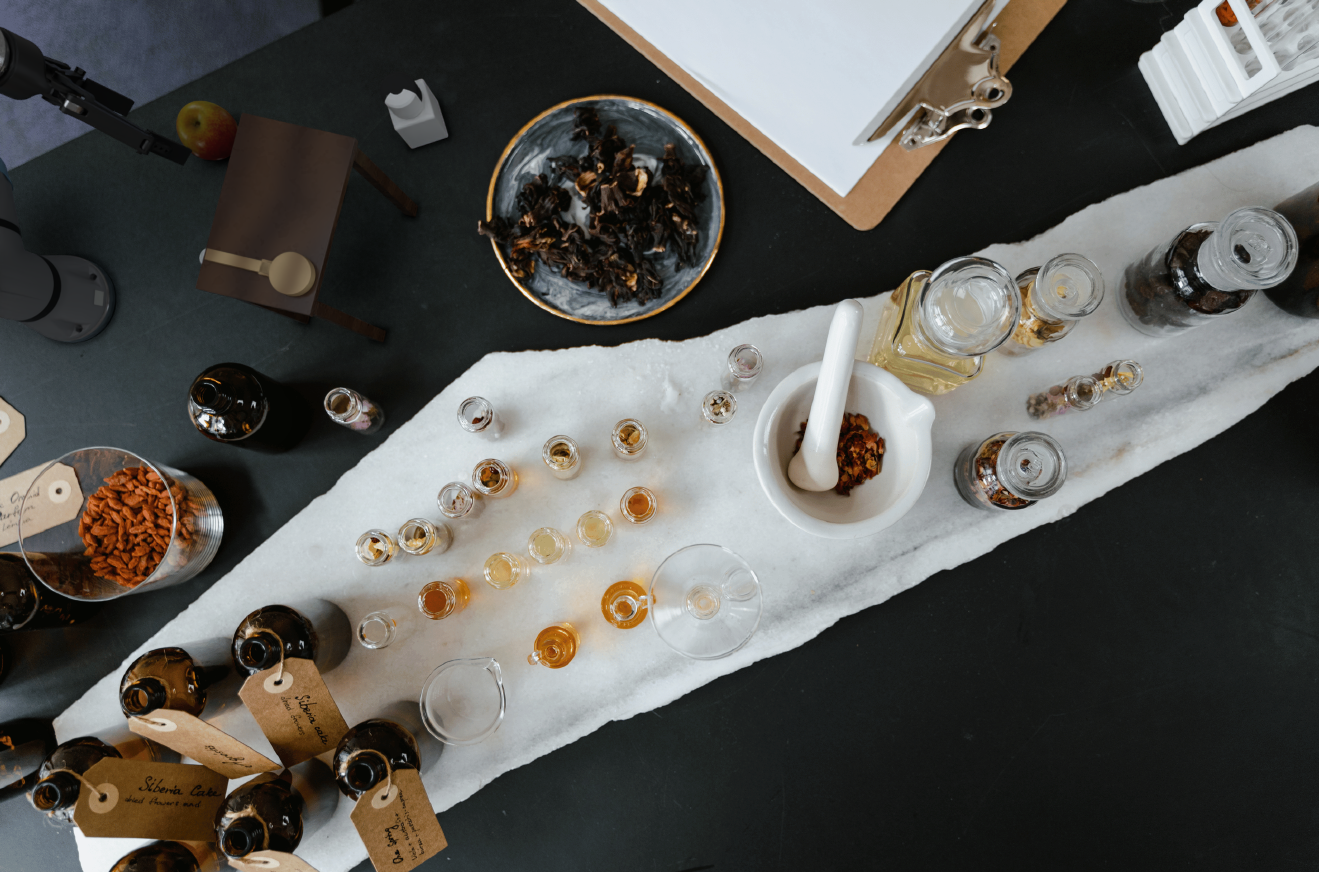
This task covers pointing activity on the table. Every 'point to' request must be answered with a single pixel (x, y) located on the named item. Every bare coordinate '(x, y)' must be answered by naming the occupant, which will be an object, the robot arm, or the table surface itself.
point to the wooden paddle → (273, 269)
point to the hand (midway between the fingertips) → (157, 132)
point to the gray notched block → (413, 109)
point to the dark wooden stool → (287, 213)
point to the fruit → (206, 130)
